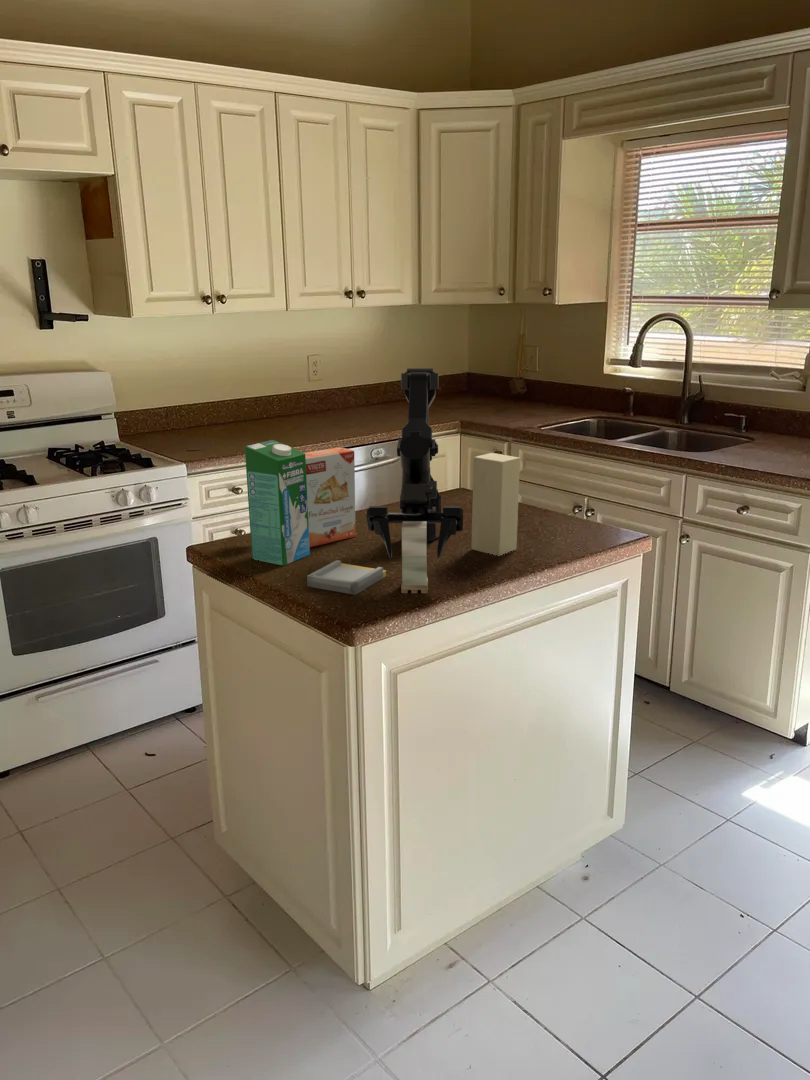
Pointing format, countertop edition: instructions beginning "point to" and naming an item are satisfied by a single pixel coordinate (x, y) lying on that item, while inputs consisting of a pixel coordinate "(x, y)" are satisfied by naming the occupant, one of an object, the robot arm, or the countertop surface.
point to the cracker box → (330, 495)
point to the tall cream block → (495, 503)
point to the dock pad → (345, 577)
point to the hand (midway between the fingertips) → (414, 557)
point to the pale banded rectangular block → (414, 557)
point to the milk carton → (277, 502)
